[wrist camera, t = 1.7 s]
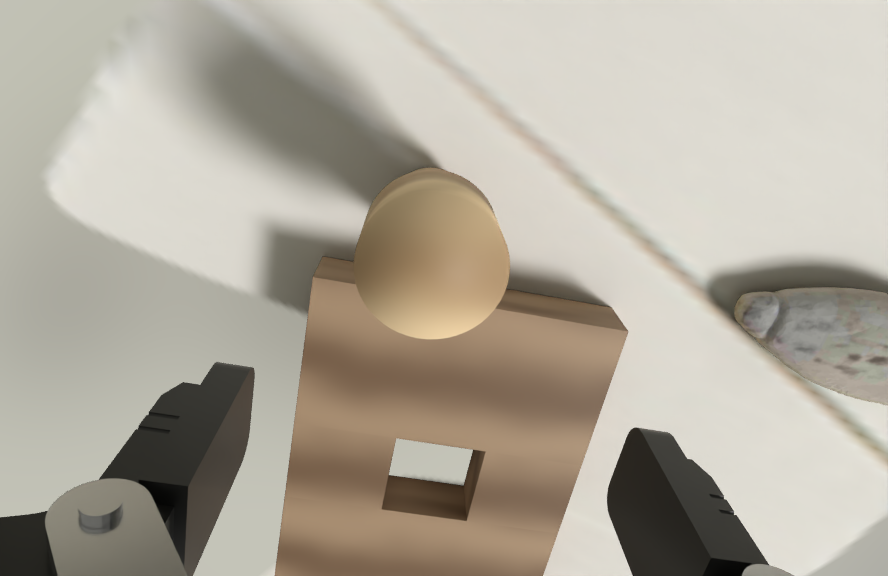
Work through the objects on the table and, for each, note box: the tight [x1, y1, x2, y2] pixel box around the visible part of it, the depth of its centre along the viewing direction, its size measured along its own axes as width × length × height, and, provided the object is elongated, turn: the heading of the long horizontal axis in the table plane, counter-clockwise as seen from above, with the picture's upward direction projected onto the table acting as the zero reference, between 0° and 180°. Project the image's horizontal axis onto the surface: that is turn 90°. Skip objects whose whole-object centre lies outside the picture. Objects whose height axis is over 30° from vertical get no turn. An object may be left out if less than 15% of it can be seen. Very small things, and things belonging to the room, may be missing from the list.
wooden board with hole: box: [275, 257, 628, 576], centre depth 35 cm, size 22×16×3 cm
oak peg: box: [353, 168, 510, 339], centre depth 26 cm, size 6×6×10 cm
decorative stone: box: [734, 287, 888, 405], centre depth 33 cm, size 6×16×3 cm, turn 74°
